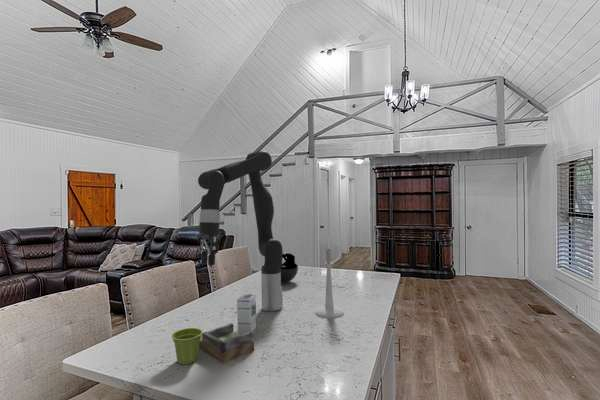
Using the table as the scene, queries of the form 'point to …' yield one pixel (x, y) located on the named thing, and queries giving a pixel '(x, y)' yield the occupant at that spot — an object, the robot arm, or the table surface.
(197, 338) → the plant pot
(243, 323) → the syrup box
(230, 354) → the dock
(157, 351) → the table surface
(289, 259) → the bowl of black rocks
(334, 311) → the candlestick
